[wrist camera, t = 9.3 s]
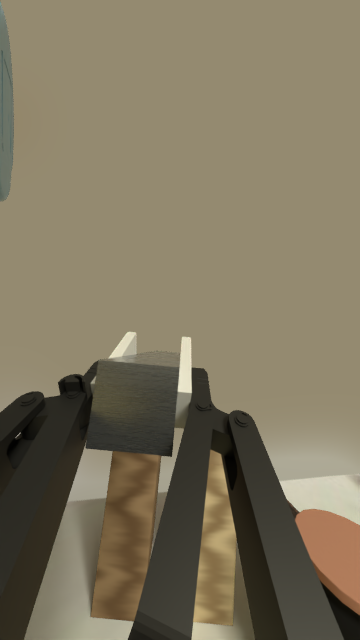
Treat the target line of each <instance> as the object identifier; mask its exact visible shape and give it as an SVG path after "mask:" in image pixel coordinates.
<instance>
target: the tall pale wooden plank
mask: <svg viewBox="0 0 360 640" xmlns="http://www.w3.org/2000/svg"><path fill="white" fill-rule="evenodd" d="M235 560H236V533H235V527H234V522H233V516H232V511H231V506H230V500H229V495H228V490H227V484H226V479H225V473H224V468H223V463H222V457H221V454H219V453H217V452H215V451H213V450H210V459H209V469H208V479H207V489H206V499H205V509H204V519H203V529H202V539H201V548H200V558H199V568H198V578H197V588H196V598H195V608H194V618H193V622H201V623H211V624H221V625H231V626H233V605H234V583H235Z"/></svg>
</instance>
